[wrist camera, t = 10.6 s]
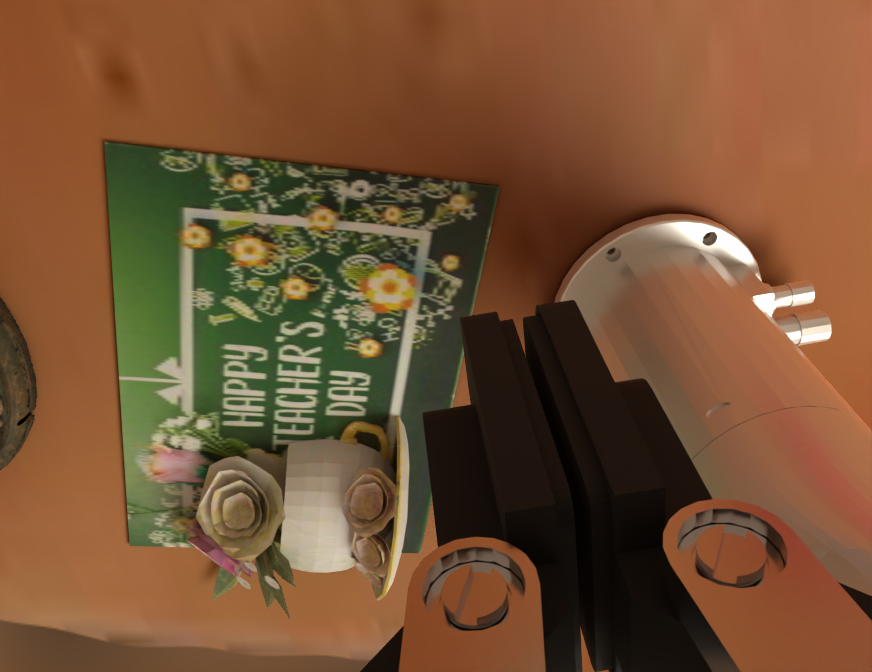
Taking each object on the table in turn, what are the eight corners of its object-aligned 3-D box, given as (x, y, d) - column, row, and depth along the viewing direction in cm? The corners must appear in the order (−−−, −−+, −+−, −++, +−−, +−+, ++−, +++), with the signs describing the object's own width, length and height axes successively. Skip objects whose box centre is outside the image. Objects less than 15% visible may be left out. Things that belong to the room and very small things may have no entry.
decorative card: (420, 674, 54) (109, 676, 50) (410, 583, 60) (134, 578, 56) (526, 245, 36) (64, 199, 33) (497, 181, 43) (108, 137, 39)
